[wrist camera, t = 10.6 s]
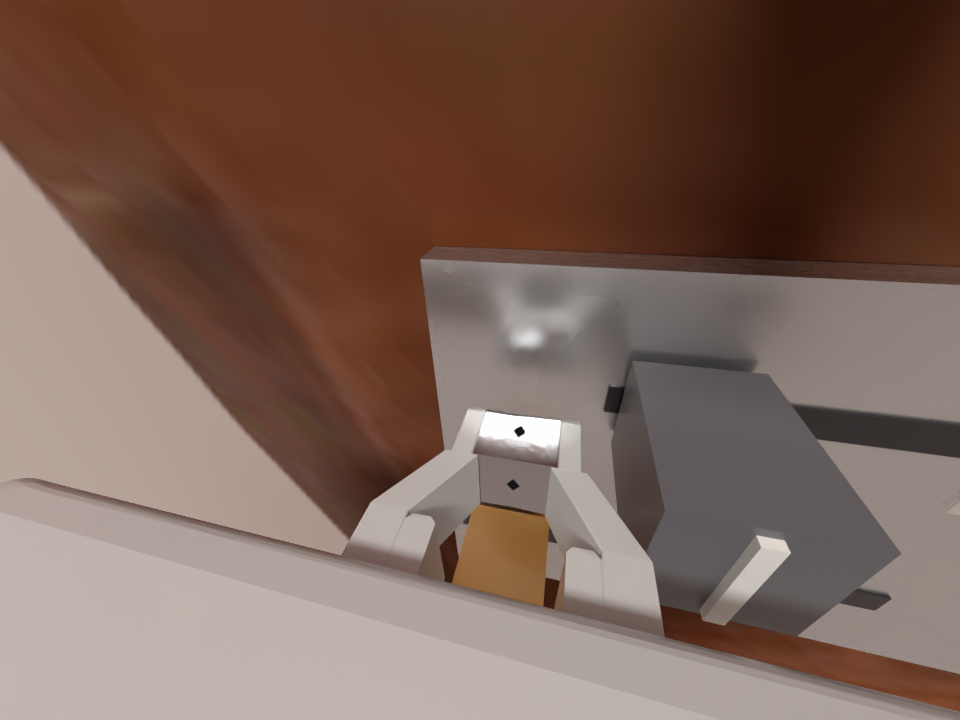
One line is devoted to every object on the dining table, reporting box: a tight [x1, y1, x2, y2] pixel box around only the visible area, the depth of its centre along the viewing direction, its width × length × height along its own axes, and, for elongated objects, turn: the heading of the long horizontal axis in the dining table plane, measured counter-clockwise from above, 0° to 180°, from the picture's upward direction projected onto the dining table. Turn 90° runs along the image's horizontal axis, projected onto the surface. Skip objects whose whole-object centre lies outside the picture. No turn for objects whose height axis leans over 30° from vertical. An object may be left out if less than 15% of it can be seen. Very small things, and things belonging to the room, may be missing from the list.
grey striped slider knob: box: [611, 361, 901, 637], centre depth 8 cm, size 3×3×5 cm
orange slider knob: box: [452, 505, 549, 606], centre depth 14 cm, size 3×3×5 cm
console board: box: [420, 246, 960, 674], centre depth 12 cm, size 23×16×1 cm
